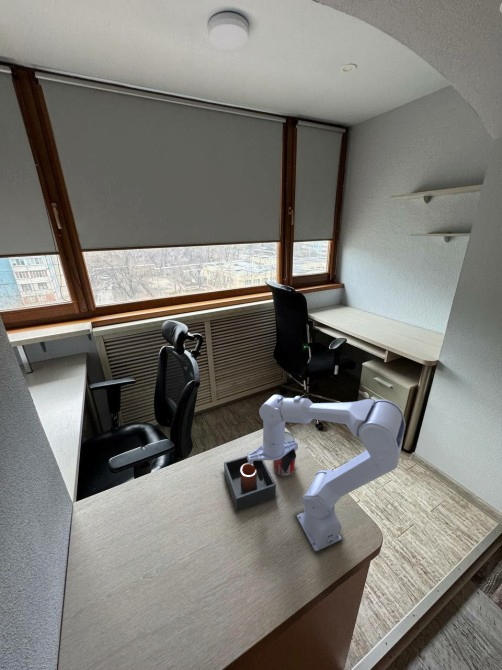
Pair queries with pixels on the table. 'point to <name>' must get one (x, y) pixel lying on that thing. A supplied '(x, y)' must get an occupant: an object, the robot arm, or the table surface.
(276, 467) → the soda can
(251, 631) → the table surface
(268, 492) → the tub
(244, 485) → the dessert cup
